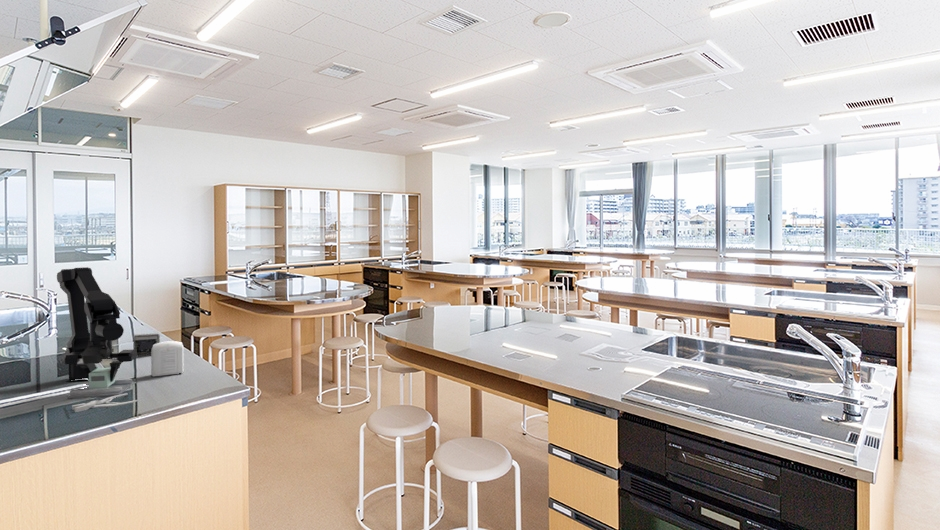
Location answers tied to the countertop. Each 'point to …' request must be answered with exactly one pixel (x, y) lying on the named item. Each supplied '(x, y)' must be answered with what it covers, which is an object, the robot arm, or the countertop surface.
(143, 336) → the electrical switch
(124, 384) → the mounting board
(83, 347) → the robot arm
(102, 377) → the green module
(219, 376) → the countertop surface
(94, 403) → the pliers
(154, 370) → the photo printer
